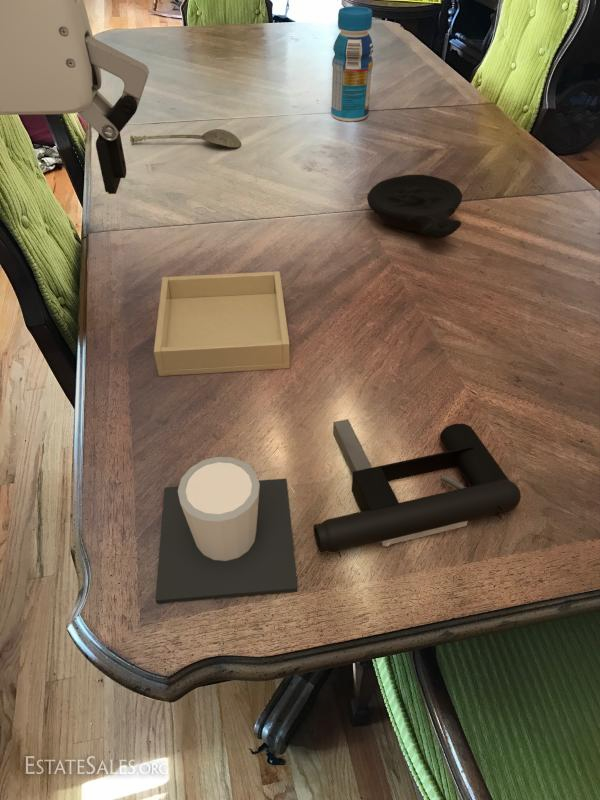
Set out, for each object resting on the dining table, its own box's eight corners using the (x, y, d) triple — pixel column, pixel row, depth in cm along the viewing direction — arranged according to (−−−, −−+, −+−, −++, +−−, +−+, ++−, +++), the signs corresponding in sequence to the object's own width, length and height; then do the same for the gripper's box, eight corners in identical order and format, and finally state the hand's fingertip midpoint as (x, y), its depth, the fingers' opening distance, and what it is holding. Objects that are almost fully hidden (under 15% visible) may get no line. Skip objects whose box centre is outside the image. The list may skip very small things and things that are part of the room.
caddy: (158, 376, 73) (153, 351, 70) (166, 300, 84) (162, 276, 81) (289, 368, 74) (289, 343, 71) (280, 294, 85) (279, 271, 82)
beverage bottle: (322, 116, 134) (325, 10, 120) (346, 106, 139) (352, 2, 125) (352, 125, 130) (359, 17, 116) (376, 115, 135) (385, 9, 121)
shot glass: (205, 580, 53) (195, 533, 48) (176, 521, 57) (165, 473, 52) (276, 546, 55) (273, 499, 50) (243, 493, 60) (238, 445, 55)
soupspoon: (239, 155, 121) (242, 143, 126) (239, 137, 118) (242, 126, 123) (127, 149, 120) (135, 138, 125) (125, 131, 118) (133, 120, 123)
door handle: (279, 427, 63) (325, 552, 52) (456, 392, 67) (536, 502, 56) (280, 449, 66) (325, 575, 54) (451, 414, 70) (528, 524, 58)
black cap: (391, 263, 91) (395, 232, 88) (354, 203, 105) (356, 175, 101) (484, 252, 93) (491, 222, 90) (436, 195, 107) (441, 167, 104)
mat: (156, 603, 52) (155, 600, 52) (165, 491, 61) (164, 487, 60) (297, 591, 53) (297, 588, 52) (286, 481, 61) (286, 478, 61)
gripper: (131, -103, 39) (168, 165, 51) (-155, -106, 38) (-49, 168, 49) (114, -89, 33) (159, 208, 45) (-221, -93, 32) (-85, 212, 44)
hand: (50, 187), depth 47 cm, fingers open, 9 cm apart
